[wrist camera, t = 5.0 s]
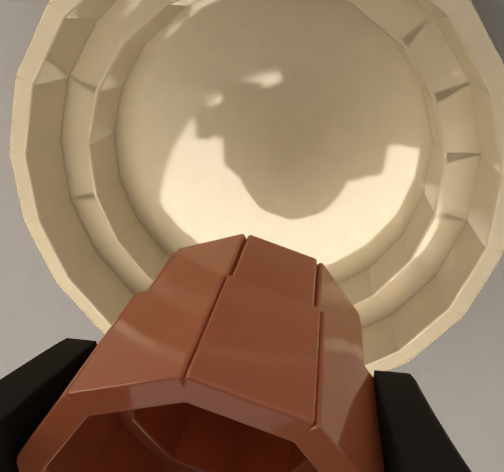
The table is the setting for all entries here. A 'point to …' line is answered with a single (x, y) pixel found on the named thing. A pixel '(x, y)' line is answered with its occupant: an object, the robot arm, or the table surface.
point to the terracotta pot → (221, 374)
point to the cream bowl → (268, 148)
